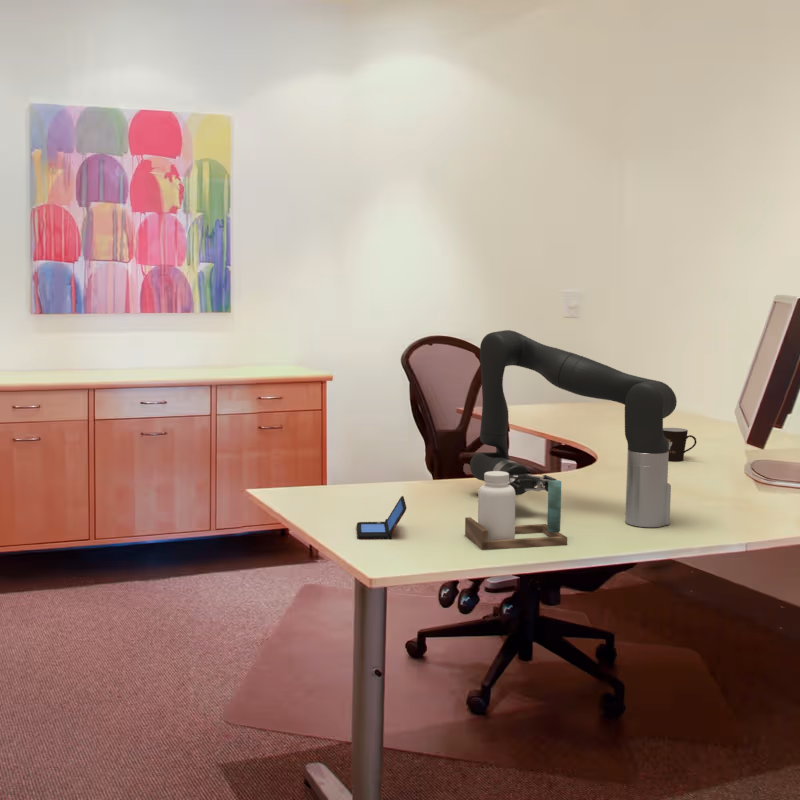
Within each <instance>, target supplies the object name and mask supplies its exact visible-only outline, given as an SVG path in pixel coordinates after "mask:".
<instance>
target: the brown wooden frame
mask: <svg viewBox="0 0 800 800" xmlns="http://www.w3.org/2000/svg"><path fill="white" fill-rule="evenodd" d="M561 512H562V481H561V480H559V479H556V480H549V481H548V492H547V519H546V520H547V521H546V522H547V524H546V523H541V524H540V523H538V524H537V523H535V524H523V525H522V524H521V525H520V524H519V525H516V524H515V535H519V534H521V535H522V534H537V533H543V534H544V535H546V536H544V537H542V536H541V537H529V538H528V537H525V538H524V537H523V538H515V539H505V540H488V530H486V529H485V528H484V527H482V526H481V525H480V524H478V521H476V520H475V519H473V518H472V517H471V516H470V517H469V516H468V517H465V519H464V520H465V521H464V522H465V524H464V536H465V537H467V539H469V540H470V541H471V542H473V544H475V545H476V546H477V547H478V548H479V549H481V550H482V551H483V550H484V551H485V550H501V549H505V550H506V549H518V548H534V547H535V548H537V547H550V546H551V547H552V546H553V547H554V546H555V547H557V546H567V545H568V537H567V536H565V535H564V534H563V533H561V514H562V513H561Z"/></svg>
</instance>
